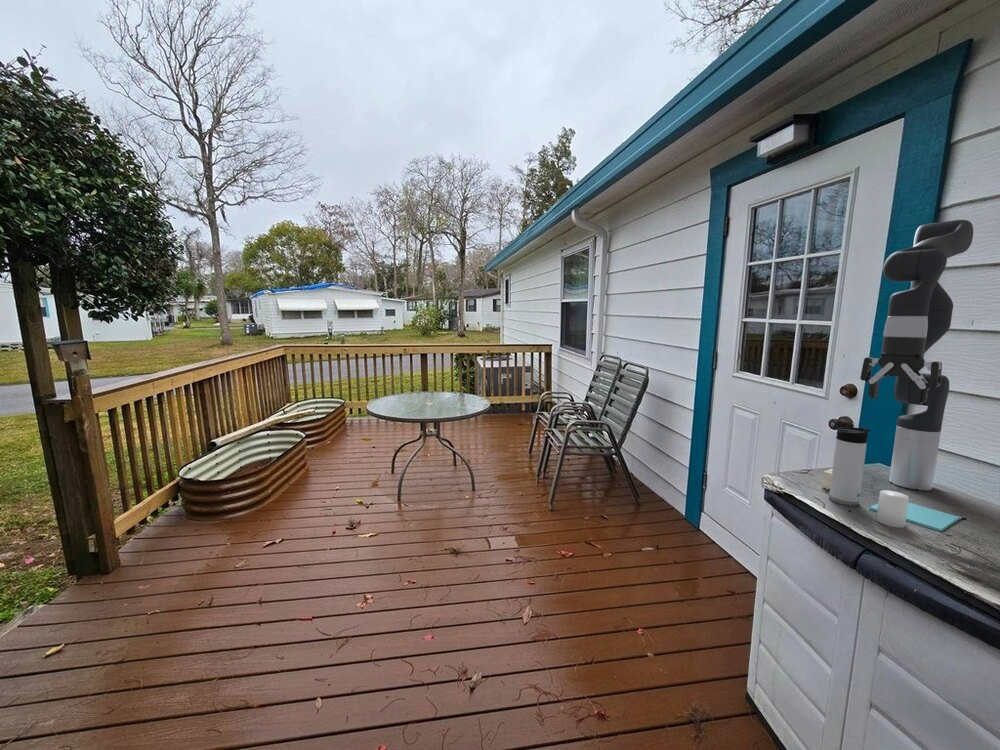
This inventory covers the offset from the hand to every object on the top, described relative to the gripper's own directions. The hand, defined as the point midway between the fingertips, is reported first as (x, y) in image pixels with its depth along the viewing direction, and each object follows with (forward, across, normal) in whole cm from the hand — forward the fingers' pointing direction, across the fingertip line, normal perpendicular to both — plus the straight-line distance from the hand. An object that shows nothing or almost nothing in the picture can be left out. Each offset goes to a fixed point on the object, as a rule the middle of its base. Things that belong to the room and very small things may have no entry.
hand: (895, 401), depth 103 cm
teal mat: (+28, -5, -4) cm, 29 cm away
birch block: (+28, +12, -6) cm, 31 cm away
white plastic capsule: (+28, -4, +7) cm, 29 cm away
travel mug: (+28, +7, +2) cm, 29 cm away
